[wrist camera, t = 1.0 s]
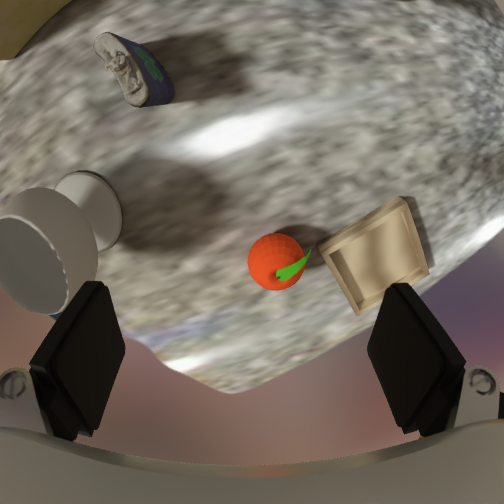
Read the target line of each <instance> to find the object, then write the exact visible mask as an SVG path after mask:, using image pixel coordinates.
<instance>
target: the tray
mask: <svg viewBox="0 0 504 504" xmlns="http://www.w3.org/2000/svg"><path fill="white" fill-rule="evenodd" d="M317 246H318V249H319V251H320V253H321V255H322V256H323V258H324V260H325V262H326V263H327V265H328V267H329V268H330V270H331V272H332V273H333V275H334V277H335V279H336V280H337V282H338V284H339V286H340V287H341V289H342V291H343V293H344V294H345V296H346V298H347V300H348V301H349V303H350V305H351V307H352V309H353V310H354V312H355V314H356V316H359V315H361V314H363V313H364V312H366V311H368V310H370V309H372V308H374V307H375V306H377V305H379V304H381V303H382V300H383V297H384V293H385V290H386V289H387V288H388V287H390V285H391V284H392V283H405V282H406V283H408V284H410V286H411V285H413V284H415V283H416V282H418V281H420V280H421V279H423V278H424V277H426V276H428V275H429V270H428V266H427V263H426V259H425V256H424V252H423V249H422V246H421V242H420V239H419V236H418V233H417V230H416V227H415V224H414V221H413V218H412V215H411V212H410V210H409V207H408V204H407V202H406V201H404V200H403V199H402V198H400V197H399V196H398V197H396V198H394V199H393V200H391V201H389V202H388V203H386V204H384V205H383V206H381V207H379V208H378V209H376V210H374V211H372V212H371V213H369V214H367V215H366V216H364V217H362V218H360V219H359V220H357V221H355V222H354V223H352V224H350V225H348V226H347V227H345V228H343V229H342V230H340V231H338V232H336V233H335V234H333V235H331V236H329V237H328V238H326V239H324V240H322V241H321V242H319V243H317Z"/></svg>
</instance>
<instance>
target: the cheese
mask: <svg viewBox="0 0 504 504" xmlns="http://www.w3.org/2000/svg"><path fill="white" fill-rule="evenodd" d="M71 1H72V0H0V60H11V59H13V58H14V57H15V56H16V55H17V54H18V52H19V51H20V50H21V49H22V48H23V46H24V45H25V44H26V43H27V42H28V41H29V40H30V39H31V37H32V36H33V35H34V34H35V33H36V32H37V31H38V30H39V29H40V28H41V27H42V26H43V25H44V24H45V23H46V22H47V21H48V20H49V19H50V18H51V17H52V16H53V15H55V14H56V13H57V12H58V11H59V10H60V9H62V8H63V7H64V6H65V5H67V4H68V3H69V2H71Z"/></svg>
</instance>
